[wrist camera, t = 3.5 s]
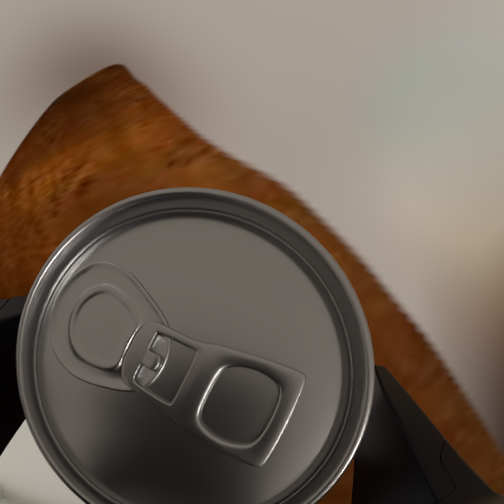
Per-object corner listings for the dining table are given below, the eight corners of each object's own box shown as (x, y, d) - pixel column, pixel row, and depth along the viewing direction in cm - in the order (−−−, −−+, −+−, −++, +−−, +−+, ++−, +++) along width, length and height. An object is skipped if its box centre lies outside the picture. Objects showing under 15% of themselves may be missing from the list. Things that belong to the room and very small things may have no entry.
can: (208, 299, 16) (116, 137, 5) (315, 344, 15) (442, 249, 4) (158, 398, 14) (-26, 402, 3) (266, 450, 12) (277, 602, 1)
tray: (166, 552, 9) (154, 570, 6) (6, 505, 8) (-11, 509, 5) (111, 324, 15) (90, 314, 13) (-24, 337, 14) (-44, 330, 12)
